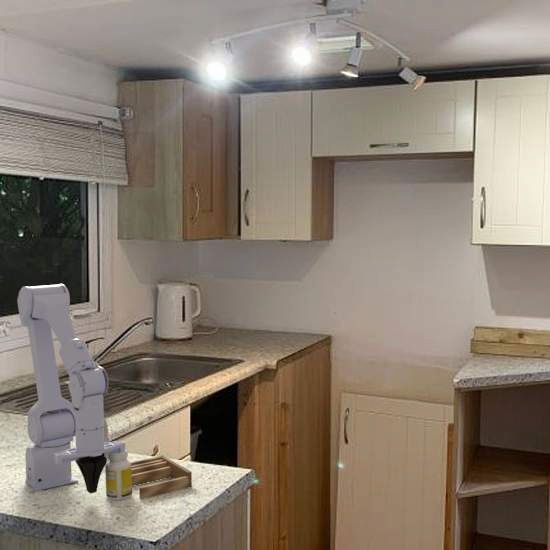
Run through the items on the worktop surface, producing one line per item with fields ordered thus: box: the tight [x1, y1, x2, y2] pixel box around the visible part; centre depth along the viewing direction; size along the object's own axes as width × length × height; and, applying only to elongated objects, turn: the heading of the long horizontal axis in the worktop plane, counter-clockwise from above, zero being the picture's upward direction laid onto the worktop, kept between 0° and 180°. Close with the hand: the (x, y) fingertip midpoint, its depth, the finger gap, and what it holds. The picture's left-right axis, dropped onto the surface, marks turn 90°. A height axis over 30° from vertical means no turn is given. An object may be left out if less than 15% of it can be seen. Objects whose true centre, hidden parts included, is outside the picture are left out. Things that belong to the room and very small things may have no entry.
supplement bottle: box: [104, 448, 133, 501], centre depth 158 cm, size 5×5×10 cm
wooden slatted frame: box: [130, 455, 193, 500], centre depth 166 cm, size 12×14×3 cm
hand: (91, 491), depth 155 cm, fingers closed
